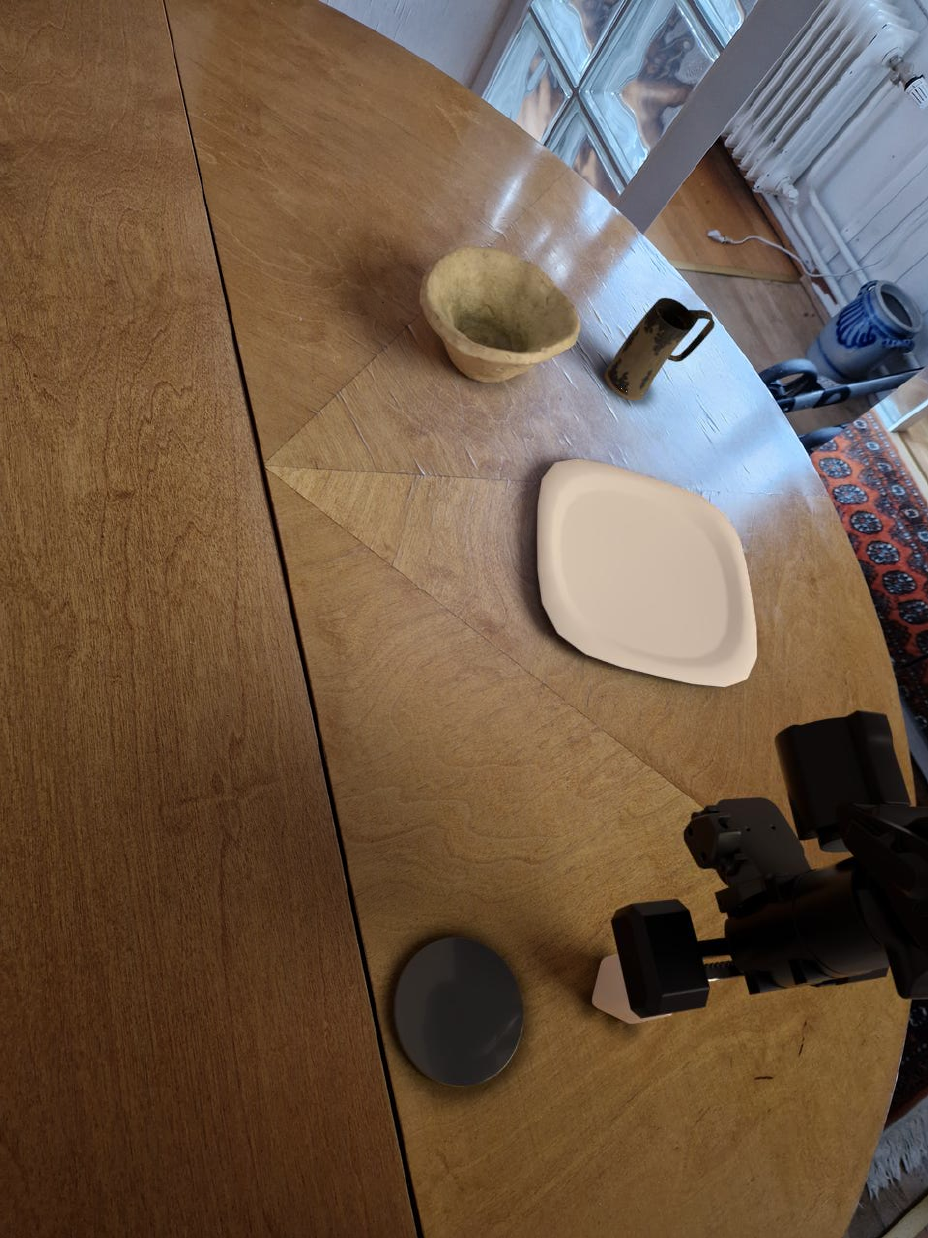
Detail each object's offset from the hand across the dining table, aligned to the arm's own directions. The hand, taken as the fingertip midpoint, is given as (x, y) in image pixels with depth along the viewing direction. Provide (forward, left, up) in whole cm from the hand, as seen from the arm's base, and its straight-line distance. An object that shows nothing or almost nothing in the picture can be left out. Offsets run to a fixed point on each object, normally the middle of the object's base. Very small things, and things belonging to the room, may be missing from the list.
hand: (681, 965), depth 63 cm
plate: (+36, -20, -10) cm, 42 cm away
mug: (+62, -31, -10) cm, 70 cm away
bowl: (+66, -11, -10) cm, 68 cm away
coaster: (+2, +13, -10) cm, 16 cm away
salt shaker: (0, 0, -10) cm, 10 cm away
